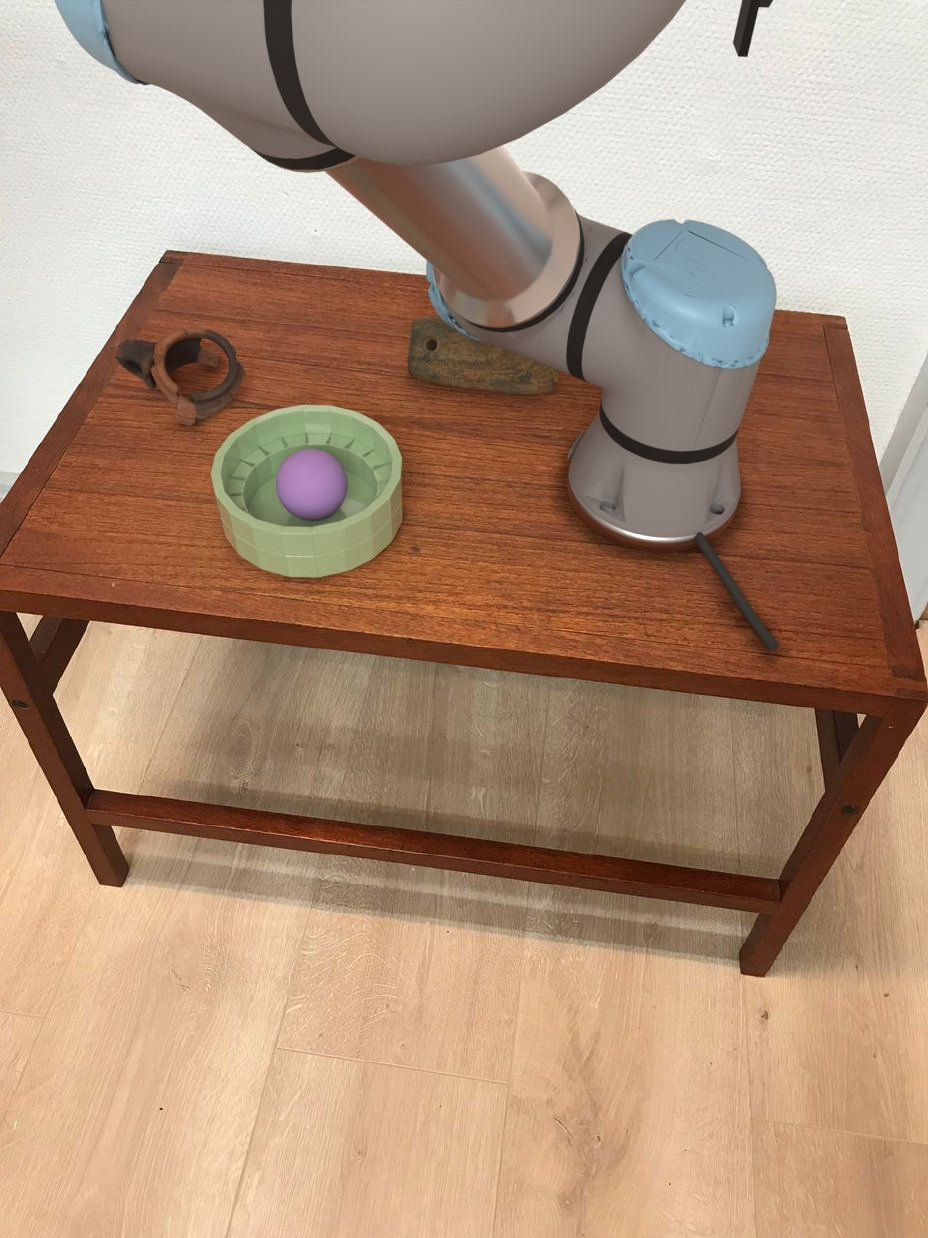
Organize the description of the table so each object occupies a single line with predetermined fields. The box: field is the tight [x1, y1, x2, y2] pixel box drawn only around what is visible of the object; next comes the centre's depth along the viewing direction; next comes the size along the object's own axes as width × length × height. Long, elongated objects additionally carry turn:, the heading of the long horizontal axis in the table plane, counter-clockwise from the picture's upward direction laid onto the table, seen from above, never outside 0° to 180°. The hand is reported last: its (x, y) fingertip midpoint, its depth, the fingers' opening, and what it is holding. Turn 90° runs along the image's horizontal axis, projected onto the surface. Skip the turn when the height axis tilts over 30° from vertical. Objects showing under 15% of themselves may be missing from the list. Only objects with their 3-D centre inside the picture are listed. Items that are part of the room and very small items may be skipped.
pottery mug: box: [115, 326, 247, 427], centre depth 93 cm, size 12×10×8 cm
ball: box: [276, 449, 348, 521], centre depth 83 cm, size 6×6×6 cm
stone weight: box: [407, 315, 560, 396], centre depth 95 cm, size 15×7×7 cm, turn 87°
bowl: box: [210, 404, 405, 579], centre depth 83 cm, size 16×16×6 cm
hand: (656, 47), depth 80 cm, fingers open, 13 cm apart
